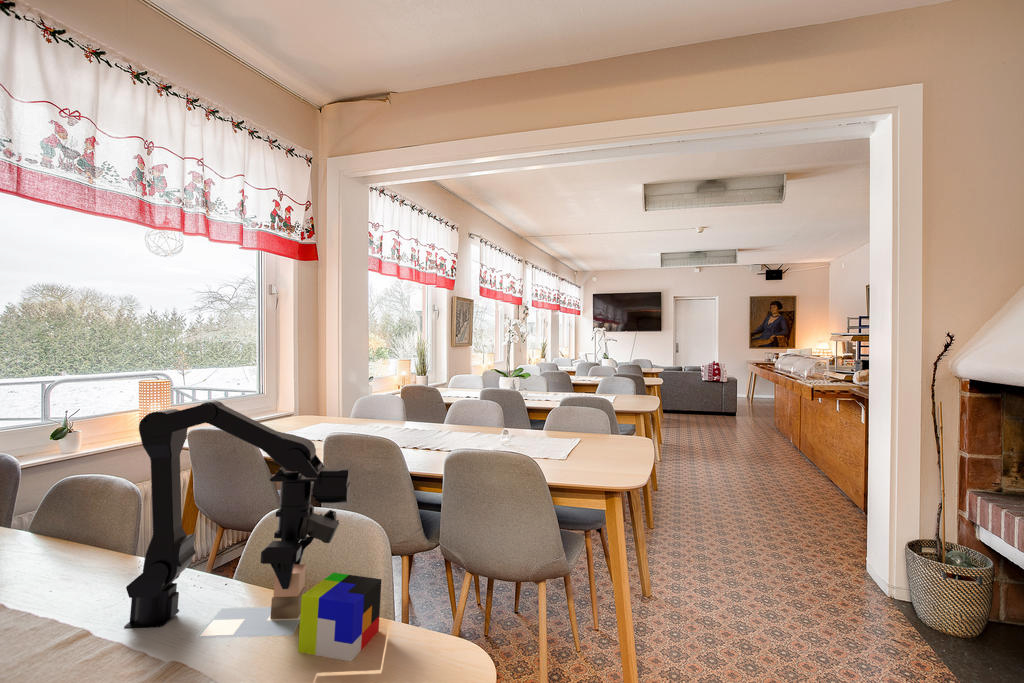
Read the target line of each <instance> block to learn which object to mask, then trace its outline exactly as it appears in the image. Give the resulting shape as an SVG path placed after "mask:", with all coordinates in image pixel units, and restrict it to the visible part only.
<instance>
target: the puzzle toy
mask: <svg viewBox="0 0 1024 683" xmlns="http://www.w3.org/2000/svg"><path fill="white" fill-rule="evenodd" d="M381 596H382V579H381V578H374V577H368V576H360V575H353V574H347V573H339V572H332V573H331V574H330V575H328V576H327V577H325V578H324V579H322V580H321V581H319V582H318V583H317V584H316V585H314V586H313V587H311V588H310V589H309V590H307V591H305V593H304V594H303V595H302V598H301V613H300V622H299V629H298V630H299V631H298V632H299V633H298V646H297V652H298V653H303V654H307V655H308V654H309V655H312V656H318V657H319V656H320V657H324V658H329V659H330V658H331V659H335V660H341V661H346V662H352V661H353V660H354V659H355V658H356V656H358V654H359V653H360V652H361V651H363V649H364V648H365V646H367V644H368V643H370V641H371V640H372V639H373V638H374V637H375V635H376V634H377V633H378V632H379V630H380V614H381V613H380V610H381Z"/></svg>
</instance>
